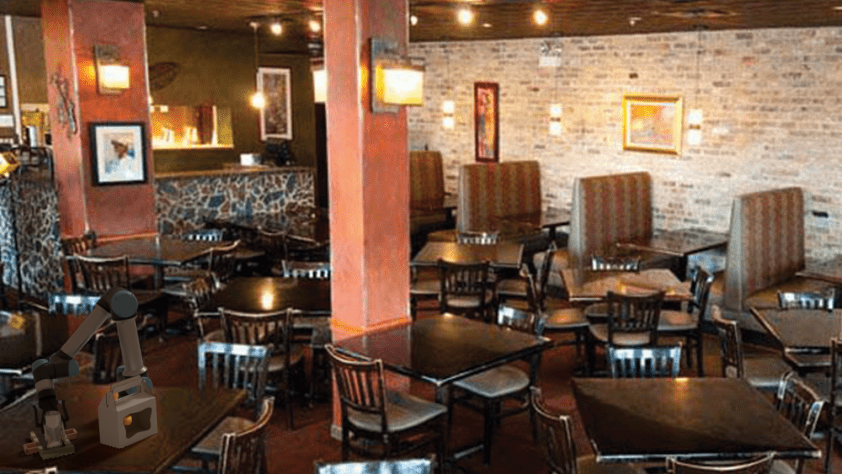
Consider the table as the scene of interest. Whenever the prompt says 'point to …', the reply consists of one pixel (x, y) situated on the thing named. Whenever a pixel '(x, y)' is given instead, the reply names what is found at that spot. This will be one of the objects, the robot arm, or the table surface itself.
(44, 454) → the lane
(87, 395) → the table surface
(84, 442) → the table surface
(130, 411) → the gable box
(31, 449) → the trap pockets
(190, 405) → the table surface
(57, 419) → the beer glass
